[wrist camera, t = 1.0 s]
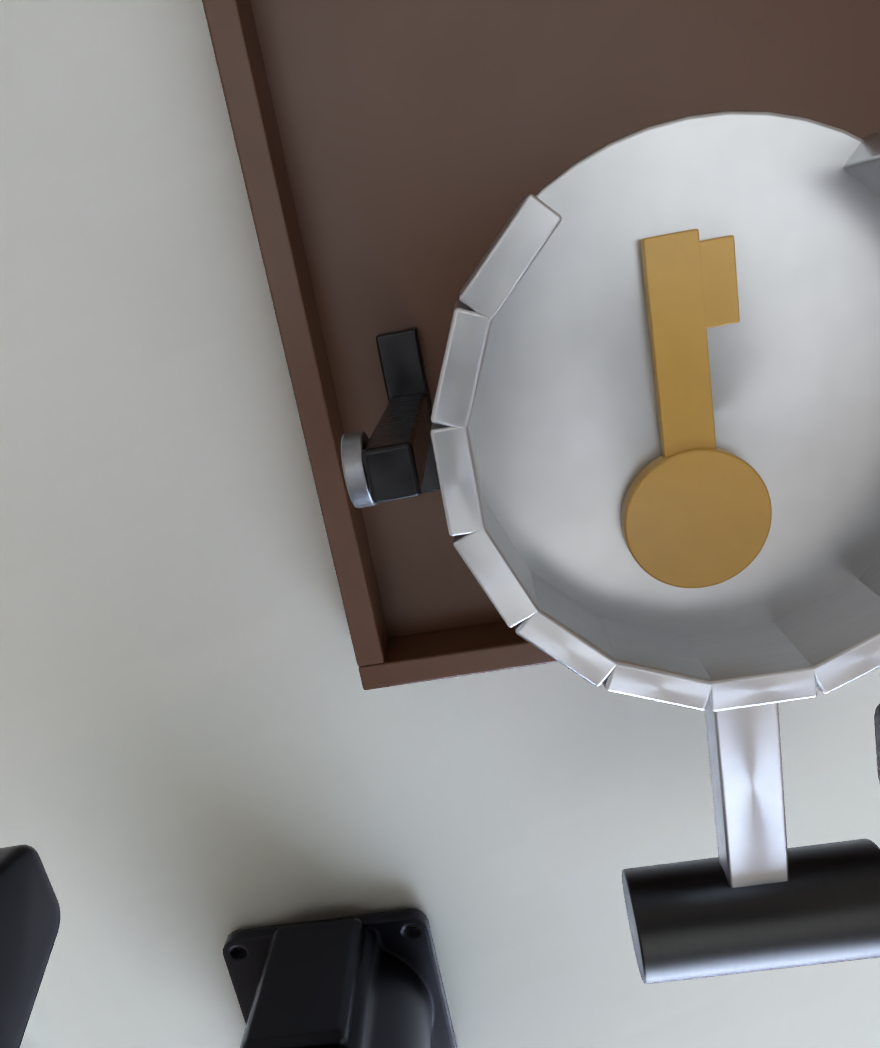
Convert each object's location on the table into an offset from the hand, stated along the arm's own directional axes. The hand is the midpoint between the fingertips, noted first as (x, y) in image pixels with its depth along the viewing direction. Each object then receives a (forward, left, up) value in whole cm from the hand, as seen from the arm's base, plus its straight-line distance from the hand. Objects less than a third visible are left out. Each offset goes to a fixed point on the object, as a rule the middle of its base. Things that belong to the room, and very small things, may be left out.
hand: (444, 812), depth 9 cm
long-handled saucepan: (-1, -5, -8) cm, 9 cm away
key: (+2, -5, -7) cm, 9 cm away
